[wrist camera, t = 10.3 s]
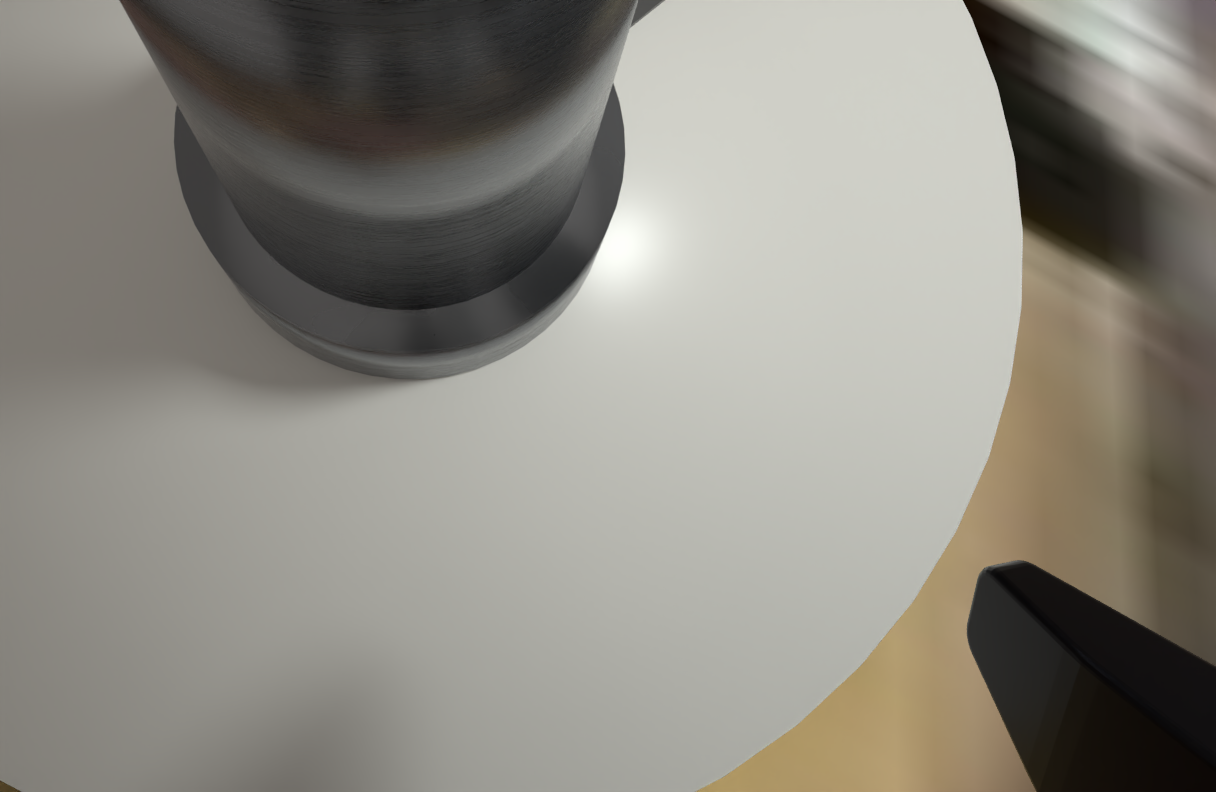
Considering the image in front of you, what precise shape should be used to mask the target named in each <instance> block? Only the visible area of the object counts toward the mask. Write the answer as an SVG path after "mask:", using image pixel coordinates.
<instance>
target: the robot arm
mask: <svg viewBox="0 0 1216 792" xmlns="http://www.w3.org/2000/svg"><path fill="white" fill-rule="evenodd" d="M967 638H968V643H969V646H970V649H971V652H972V654H973V657H974V659H975V661H976V663H977V665H978V667H979V670H980V672H981V674H982V676H983V678H984V680H985V683H986V685H987V687H988V689H989V691H990V693H991V696H992V698H993V700H994V702H995V704H996V707H997V709H998V711H999V713H1000V715H1001V717H1002V720H1003V722H1004V724H1005V726H1006V728H1007V730H1008V733H1009V735H1010V737H1011V739H1012V741H1013V743H1014V746H1015V748H1016V750H1017V752H1018V754H1019V756H1020V759H1021V761H1022V763H1023V765H1024V767H1025V769H1026V772H1027V774H1028V776H1029V778H1030V780H1031V782H1032V784H1033V786H1034V788H1035V790H1036V792H1216V666H1214V665H1212V664H1211V663H1209V662H1207V661H1205V660H1203V659H1202V658H1200V657H1198V656H1196V655H1194V654H1193V653H1191V652H1189V651H1187V650H1186V649H1184V648H1182V647H1180V646H1178V645H1177V644H1175V643H1173V642H1171V641H1169V640H1168V639H1166V638H1164V637H1162V636H1161V635H1159V634H1157V633H1155V632H1153V631H1152V630H1150V629H1148V628H1146V627H1144V626H1143V625H1141V624H1139V623H1137V622H1136V621H1134V620H1132V619H1130V618H1128V617H1127V616H1125V615H1123V614H1121V613H1119V612H1118V611H1116V610H1114V609H1112V608H1111V607H1109V606H1107V605H1105V604H1103V603H1102V602H1100V601H1098V600H1096V599H1094V598H1093V597H1091V596H1089V595H1087V594H1086V593H1084V592H1082V591H1080V590H1078V589H1077V588H1075V587H1073V586H1071V585H1069V584H1068V583H1066V582H1064V581H1062V580H1061V579H1059V578H1057V577H1055V576H1053V575H1052V574H1050V573H1048V572H1046V571H1044V570H1043V569H1041V568H1039V567H1037V566H1036V565H1034V564H1031V563H1029V562H1026V561H1021V560H1017V561H1011V562H1006V563H1002V564H997V565H992V566H988V567H986V568H984V569H983V570H982V572H981V573H980V574H979V576H978V579H977V584H976V588H975V592H974V597H973V601H972V605H971V610H970V614H969V619H968V623H967Z"/></svg>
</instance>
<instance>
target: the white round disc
mask: <svg viewBox="0 0 1216 792" xmlns="http://www.w3.org/2000/svg"><path fill="white" fill-rule="evenodd" d="M613 83H614V86H615V89H616V92H617V96H618V99H619V102H620V107H621V113H622V118H623V124H624V134H625V163H624V173H623V182H622V186H621V190H620V194H619V198H618V202H617V206H616V209H615V212H614V214H613V217H612V219H611V222H610V224H609V227H608V229H607V232H606V234H605V237H604V239H603V241H602V244H601V246H600V249H599V251H598V253H597V256H596V258H595V261H594V263H593V265H592V268H591V270H590V273H589V274H588V276H587V278H586V280H585V281H584V283H583V285H582V287H581V288H580V290H579V292H578V294H577V295H576V296H575V297H574V299H573V300H572V301H571V303H570V304H569V305H568V307H567V308H566V309H565V311H564V312H563V313H562V314H561V315H560V316H559V317H558V318H557V319H556V320H555V321H554V322H553V323H552V324H551V325H550V326H549V327H548V328H547V329H546V330H545V331H544V332H542V333H541V334H540V335H538V336H537V337H536V338H534V339H533V340H532V341H530V342H529V343H528V344H526V345H525V346H524V347H522V348H520V349H518V350H517V351H515V352H513V353H511V354H509V355H508V356H506V357H504V358H502V359H500V360H498V361H495V362H493V363H490V364H488V365H485V366H483V367H480V368H478V369H474V370H471V371H467V372H463V373H459V374H455V375H452V376H444V377H436V378H429V379H393V378H385V377H377V376H370V375H366V374H362V373H358V372H354V371H350V370H346V369H343V368H340V367H338V366H335V365H333V364H330V363H328V362H325V361H323V360H320V359H318V358H316V357H314V356H313V355H311V354H309V353H307V352H305V351H303V350H302V349H300V348H298V347H296V346H295V345H293V344H292V343H290V342H289V341H288V340H286V339H285V338H284V337H282V336H281V335H280V334H278V333H277V332H276V331H274V330H273V329H272V328H271V327H270V326H269V325H268V324H267V323H266V322H265V321H264V320H263V319H262V318H260V317H259V316H258V315H257V314H256V313H255V312H254V311H253V309H252V308H251V307H250V306H249V304H248V303H247V302H246V301H245V299H244V298H243V297H242V295H241V294H240V293H239V292H238V290H237V289H236V287H235V286H234V285H233V283H232V282H231V280H230V279H229V277H228V276H227V275H226V273H225V272H224V270H223V269H222V267H221V266H220V264H219V263H218V262H217V260H216V259H215V257H214V256H213V254H212V253H211V252H210V250H209V248H208V247H207V245H206V243H205V242H204V240H203V238H202V236H201V235H200V233H199V231H198V230H197V228H196V226H195V224H194V222H193V220H192V217H191V215H190V212H189V210H188V207H187V205H186V203H185V200H184V198H183V194H182V190H181V186H180V182H179V178H178V174H177V169H176V159H175V149H174V127H175V112H176V107H177V103H176V101H175V100H174V98H173V96H172V94H171V93H170V91H169V89H168V87H167V85H166V84H165V82H164V80H163V78H162V76H161V75H160V73H159V71H158V69H157V67H156V66H155V64H154V62H153V60H152V58H151V57H150V55H149V53H148V51H147V49H146V48H145V46H144V44H143V42H142V40H141V39H140V37H139V35H138V33H137V31H136V30H135V28H134V26H133V24H132V22H131V21H130V19H129V17H128V15H127V13H126V12H125V10H124V8H123V6H122V4H121V3H120V1H119V0H0V781H2V782H4V783H6V784H8V785H10V786H12V787H14V788H16V789H17V790H19V791H21V792H695V791H697V790H699V789H701V788H703V787H705V786H707V785H709V784H711V783H713V782H715V781H716V780H718V779H720V778H722V777H724V776H726V775H727V774H728V773H730V772H731V771H733V770H734V769H735V768H737V767H738V766H740V765H741V764H743V763H744V762H745V761H747V760H748V759H750V758H751V757H752V756H754V755H755V754H757V753H758V752H760V751H761V750H762V749H764V748H765V747H767V746H768V745H769V744H771V743H772V742H774V741H775V740H777V739H778V738H779V737H781V736H782V735H784V734H785V733H786V732H788V731H789V730H791V729H792V728H794V727H795V726H796V725H798V724H799V723H800V722H801V721H802V720H803V719H804V718H805V717H806V716H807V715H808V714H809V713H810V712H812V711H813V710H814V709H815V708H816V707H817V706H818V705H819V704H820V703H821V702H822V701H823V700H824V699H825V698H827V697H828V696H829V695H830V694H831V693H832V692H833V691H834V690H835V689H836V688H837V687H838V686H839V685H841V684H842V683H843V682H844V681H845V680H846V679H847V678H848V677H849V676H850V675H851V674H852V673H853V672H854V671H856V670H857V669H858V668H859V667H860V666H861V665H862V663H863V662H864V661H865V660H866V658H867V657H868V656H869V655H870V654H871V652H872V651H873V650H874V649H875V647H876V646H877V645H878V644H879V643H880V641H881V640H882V639H883V638H884V636H885V635H886V634H887V633H888V632H889V630H890V629H891V628H892V627H893V625H894V624H895V623H896V622H897V620H898V619H899V618H900V617H901V616H902V614H903V613H904V612H905V611H906V609H907V608H908V607H909V606H910V605H911V603H912V602H913V601H914V599H915V598H916V596H917V594H918V593H919V591H920V589H921V588H922V586H923V585H924V583H925V581H926V580H927V578H928V576H929V575H930V573H931V572H932V570H933V568H934V567H935V565H936V563H937V562H938V560H939V558H940V557H941V555H942V554H943V552H944V550H945V549H946V547H947V545H948V544H949V542H950V540H951V539H952V537H953V536H954V534H955V532H956V531H957V528H958V526H959V524H960V521H961V519H962V517H963V515H964V512H965V510H966V508H967V506H968V503H969V501H970V499H971V496H972V494H973V492H974V490H975V487H976V485H977V483H978V480H979V478H980V476H981V474H982V471H983V469H984V467H985V465H986V462H987V460H988V458H989V454H990V451H991V447H992V444H993V440H994V437H995V433H996V430H997V426H998V423H999V419H1000V416H1001V413H1002V409H1003V406H1004V402H1005V399H1006V395H1007V392H1008V388H1009V385H1010V380H1011V373H1012V366H1013V360H1014V353H1015V346H1016V339H1017V333H1018V326H1019V319H1020V312H1021V298H1022V237H1023V230H1022V222H1021V213H1020V204H1019V195H1018V186H1017V177H1016V168H1015V159H1014V154H1013V150H1012V146H1011V142H1010V138H1009V133H1008V129H1007V125H1006V121H1005V117H1004V113H1003V109H1002V104H1001V100H1000V96H999V92H998V88H997V84H996V82H995V79H994V76H993V74H992V71H991V68H990V66H989V63H988V60H987V58H986V55H985V53H984V50H983V47H982V45H981V42H980V39H979V37H978V34H977V31H976V29H975V26H974V23H973V21H972V18H971V16H970V14H969V12H968V10H967V8H966V6H965V4H964V2H963V0H638V3H637V7H636V10H635V13H634V16H633V20H632V23H631V26H630V29H629V33H628V36H627V39H626V42H625V46H624V49H623V52H622V55H621V59H620V62H619V65H618V68H617V72H616V75H615V78H614V81H613Z"/></svg>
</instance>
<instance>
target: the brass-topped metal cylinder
mask: <svg viewBox="0 0 1216 792" xmlns="http://www.w3.org/2000/svg"><path fill="white" fill-rule="evenodd" d="M119 1H120V3H121V4H122V6H123V8H124V10H125V12H126V13H127V15H128V17H129V19H130V21H131V22H132V24H133V26H134V28H135V30H136V31H137V33H138V35H139V37H140V39H141V40H142V42H143V44H144V46H145V48H146V49H147V51H148V53H149V55H150V57H151V58H152V60H153V62H154V64H155V66H156V67H157V69H158V71H159V73H160V75H161V76H162V78H163V80H164V82H165V84H166V85H167V87H168V89H169V91H170V93H171V94H172V96H173V98H174V100H175V101H176V103H177V107H176V112H175V127H174V149H175V159H176V169H177V174H178V178H179V182H180V186H181V190H182V194H183V198H184V200H185V203H186V205H187V207H188V210H189V212H190V215H191V217H192V220H193V222H194V224H195V226H196V228H197V230H198V231H199V233H200V235H201V236H202V238H203V240H204V242H205V243H206V245H207V247H208V248H209V250H210V252H211V253H212V254H213V256H214V257H215V259H216V260H217V262H218V263H219V264H220V266H221V267H222V269H223V270H224V272H225V273H226V275H227V276H228V277H229V279H230V280H231V282H232V283H233V285H234V286H235V287H236V289H237V290H238V292H239V293H240V294H241V295H242V297H243V298H244V299H245V301H246V302H247V303H248V304H249V306H250V307H251V308H252V309H253V311H254V312H255V313H256V314H257V315H258V316H259V317H260V318H262V319H263V320H264V321H265V322H266V323H267V324H268V325H269V326H270V327H271V328H272V329H273V330H274V331H276V332H277V333H278V334H280V335H281V336H282V337H284V338H285V339H286V340H288V341H289V342H290V343H292V344H293V345H295V346H296V347H298V348H300V349H302V350H303V351H305V352H307V353H309V354H311V355H313V356H314V357H316V358H318V359H320V360H323V361H325V362H328V363H330V364H333V365H335V366H338V367H340V368H343V369H346V370H350V371H354V372H358V373H362V374H366V375H370V376H377V377H385V378H393V379H429V378H436V377H444V376H452V375H455V374H459V373H463V372H467V371H471V370H474V369H478V368H480V367H483V366H485V365H488V364H490V363H493V362H495V361H498V360H500V359H502V358H504V357H506V356H508V355H509V354H511V353H513V352H515V351H517V350H518V349H520V348H522V347H524V346H525V345H526V344H528V343H529V342H530V341H532V340H533V339H534V338H536V337H537V336H538V335H540V334H541V333H542V332H544V331H545V330H546V329H547V328H548V327H549V326H550V325H551V324H552V323H553V322H554V321H555V320H556V319H557V318H558V317H559V316H560V315H561V314H562V313H563V312H564V311H565V309H566V308H567V307H568V305H569V304H570V303H571V301H572V300H573V299H574V297H575V296H576V295H577V294H578V292H579V290H580V288H581V287H582V285H583V283H584V281H585V280H586V278H587V276H588V274H589V273H590V270H591V268H592V265H593V263H594V261H595V258H596V256H597V253H598V251H599V249H600V246H601V244H602V241H603V239H604V237H605V234H606V232H607V229H608V227H609V224H610V222H611V219H612V217H613V214H614V212H615V209H616V206H617V202H618V198H619V194H620V190H621V186H622V182H623V173H624V163H625V134H624V124H623V118H622V113H621V107H620V102H619V99H618V96H617V92H616V89H615V86H614V83H613V81H614V78H615V75H616V72H617V68H618V65H619V62H620V59H621V55H622V52H623V49H624V46H625V42H626V39H627V36H628V33H629V29H630V26H631V23H632V20H633V16H634V13H635V10H636V7H637V3H638V0H119Z"/></svg>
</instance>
